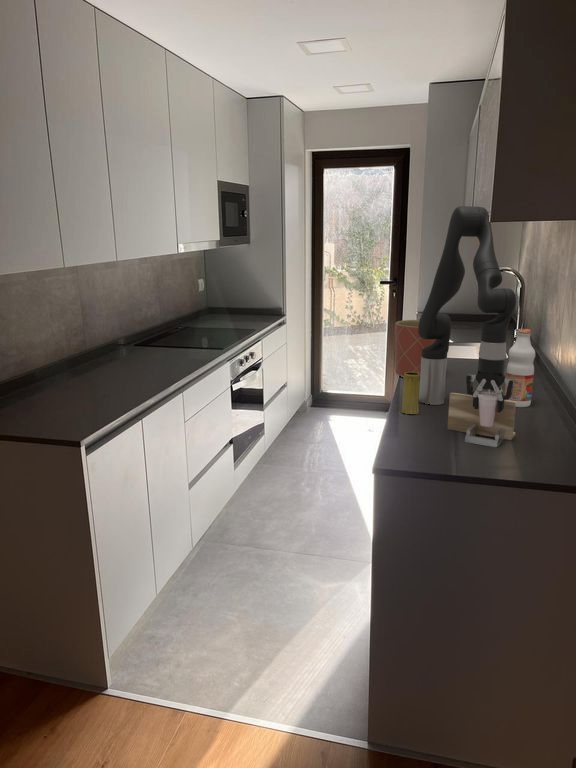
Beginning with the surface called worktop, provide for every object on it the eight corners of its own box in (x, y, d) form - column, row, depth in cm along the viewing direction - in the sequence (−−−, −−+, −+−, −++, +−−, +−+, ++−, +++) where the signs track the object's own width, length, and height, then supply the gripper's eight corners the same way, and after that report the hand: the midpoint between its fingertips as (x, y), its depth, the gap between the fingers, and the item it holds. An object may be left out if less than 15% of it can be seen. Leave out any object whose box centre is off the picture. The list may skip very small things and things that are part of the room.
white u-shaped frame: (473, 433, 188) (473, 423, 187) (504, 438, 183) (505, 428, 182) (464, 441, 180) (465, 430, 179) (497, 447, 175) (498, 436, 175)
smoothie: (477, 427, 178) (480, 382, 175) (473, 421, 184) (477, 377, 181) (499, 428, 177) (503, 383, 174) (495, 422, 183) (499, 378, 180)
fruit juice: (501, 400, 225) (508, 327, 218) (527, 401, 224) (535, 328, 217) (505, 407, 216) (512, 331, 210) (532, 408, 215) (540, 332, 208)
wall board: (452, 424, 196) (454, 389, 193) (515, 435, 186) (518, 398, 183) (447, 429, 192) (449, 393, 189) (511, 440, 182) (515, 402, 179)
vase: (416, 409, 213) (418, 371, 210) (420, 414, 207) (422, 375, 204) (399, 410, 213) (401, 371, 209) (403, 415, 207) (405, 375, 203)
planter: (441, 370, 275) (444, 320, 269) (448, 382, 253) (452, 327, 247) (391, 369, 277) (393, 319, 271) (394, 380, 255) (397, 326, 250)
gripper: (520, 356, 175) (514, 410, 179) (471, 351, 182) (467, 404, 186) (514, 361, 169) (509, 417, 173) (464, 355, 176) (460, 409, 180)
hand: (487, 410), depth 180 cm, fingers closed on smoothie, 6 cm apart
